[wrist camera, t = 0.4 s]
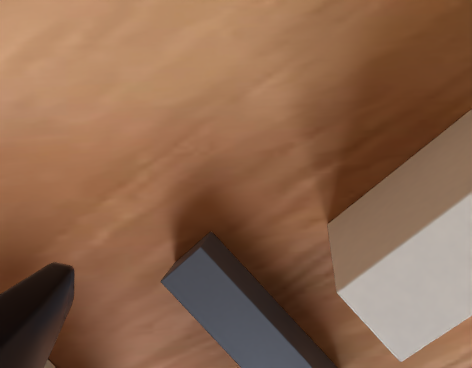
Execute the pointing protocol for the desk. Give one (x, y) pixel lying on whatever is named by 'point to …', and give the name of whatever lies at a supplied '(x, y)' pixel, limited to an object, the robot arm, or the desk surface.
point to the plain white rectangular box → (411, 246)
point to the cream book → (49, 365)
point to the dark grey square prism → (239, 310)
